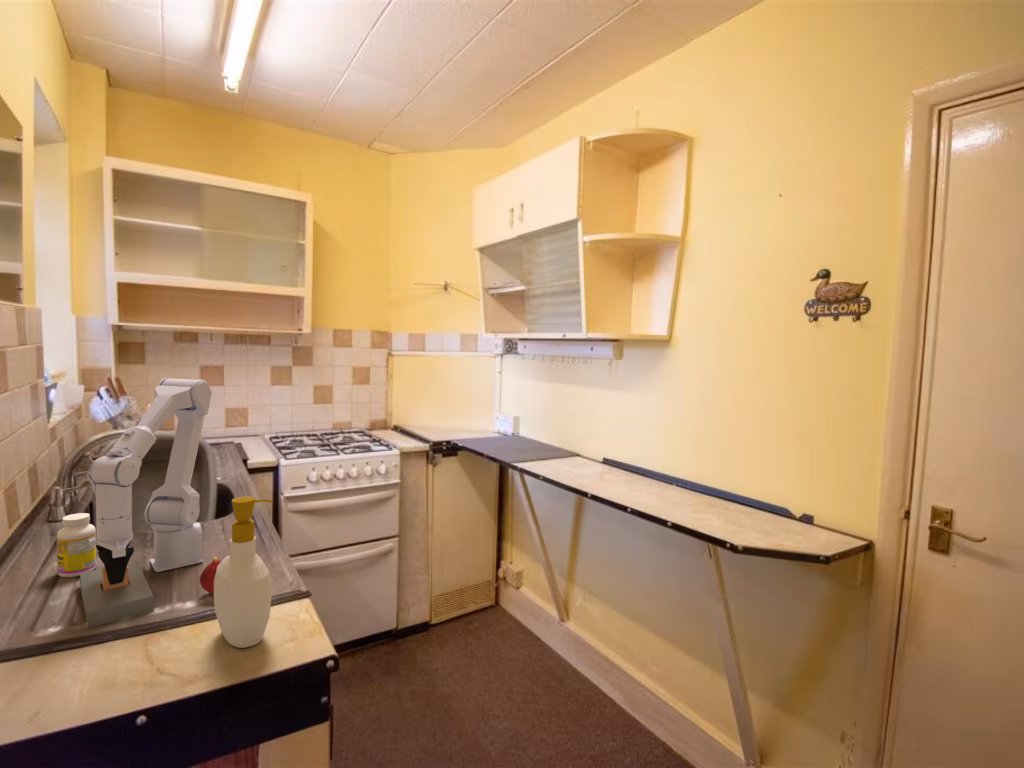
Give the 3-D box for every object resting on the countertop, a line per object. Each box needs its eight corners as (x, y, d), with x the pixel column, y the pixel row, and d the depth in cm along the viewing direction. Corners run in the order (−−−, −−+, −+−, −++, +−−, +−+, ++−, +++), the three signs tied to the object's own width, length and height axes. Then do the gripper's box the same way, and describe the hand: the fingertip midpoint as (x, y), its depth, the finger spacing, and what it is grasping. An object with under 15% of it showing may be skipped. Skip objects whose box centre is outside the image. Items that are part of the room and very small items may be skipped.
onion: (237, 591, 110) (237, 555, 109) (212, 603, 105) (212, 565, 104) (219, 585, 112) (219, 549, 112) (193, 596, 107) (193, 559, 106)
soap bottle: (286, 643, 92) (288, 502, 90) (233, 664, 86) (234, 513, 84) (254, 612, 102) (255, 484, 100) (204, 629, 95) (204, 493, 93)
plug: (126, 590, 107) (126, 562, 107) (128, 595, 105) (128, 567, 104) (102, 595, 104) (101, 567, 104) (103, 601, 102) (103, 572, 102)
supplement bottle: (58, 569, 115) (57, 514, 114) (96, 563, 120) (95, 509, 119) (56, 581, 110) (55, 523, 109) (96, 573, 114) (95, 518, 113)
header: (137, 574, 115) (137, 561, 115) (153, 610, 101) (153, 595, 101) (80, 586, 108) (79, 573, 108) (87, 628, 94) (87, 612, 94)
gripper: (85, 508, 106) (86, 572, 107) (92, 529, 95) (93, 599, 96) (128, 502, 111) (128, 563, 112) (138, 522, 100) (139, 588, 101)
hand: (115, 579), depth 104 cm, fingers closed on plug, 3 cm apart
